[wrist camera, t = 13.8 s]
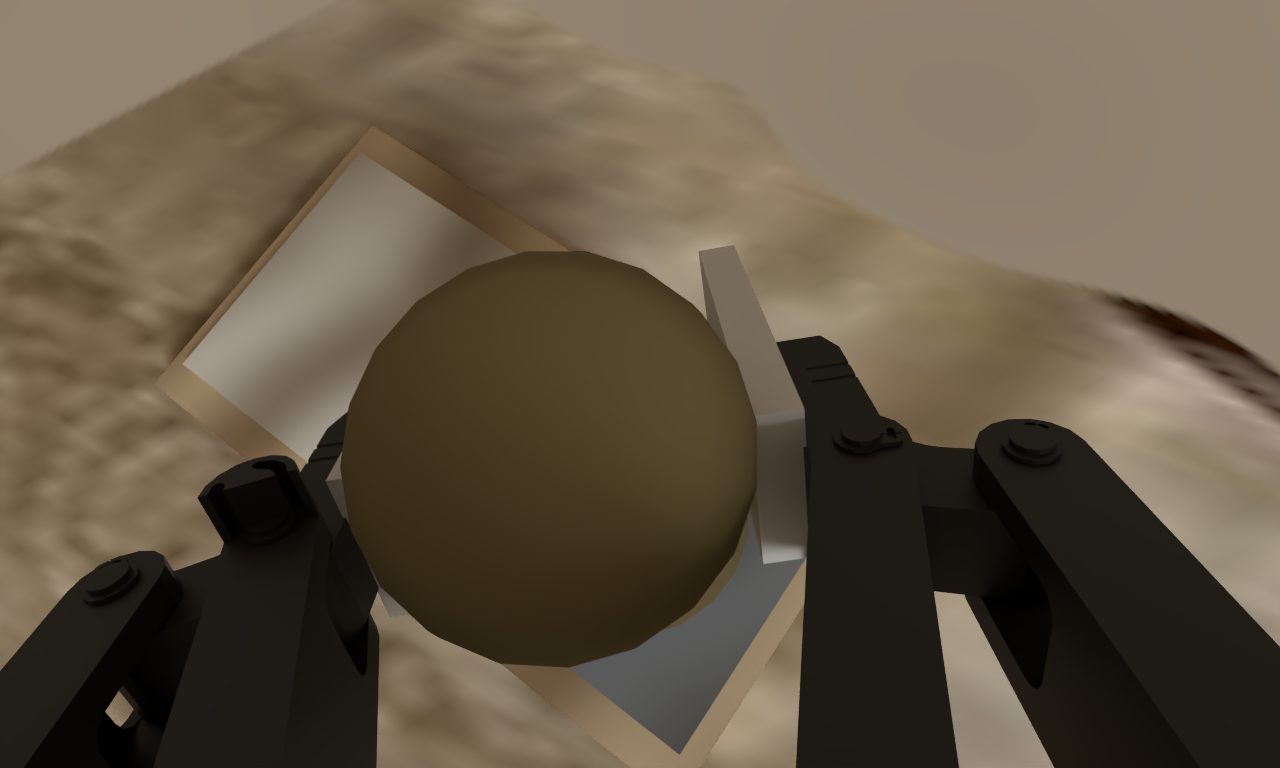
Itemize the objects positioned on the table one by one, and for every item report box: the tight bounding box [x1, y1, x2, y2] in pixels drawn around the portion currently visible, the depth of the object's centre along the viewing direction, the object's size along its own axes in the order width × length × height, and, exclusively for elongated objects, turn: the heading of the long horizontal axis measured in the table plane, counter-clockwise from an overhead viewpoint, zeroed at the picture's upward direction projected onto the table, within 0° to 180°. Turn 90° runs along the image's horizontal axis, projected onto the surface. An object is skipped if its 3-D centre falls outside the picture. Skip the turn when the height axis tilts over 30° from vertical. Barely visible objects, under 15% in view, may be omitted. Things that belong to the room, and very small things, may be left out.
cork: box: [340, 251, 757, 668], centre depth 13 cm, size 6×6×11 cm
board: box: [154, 125, 807, 768], centre depth 24 cm, size 22×12×2 cm, turn 55°
